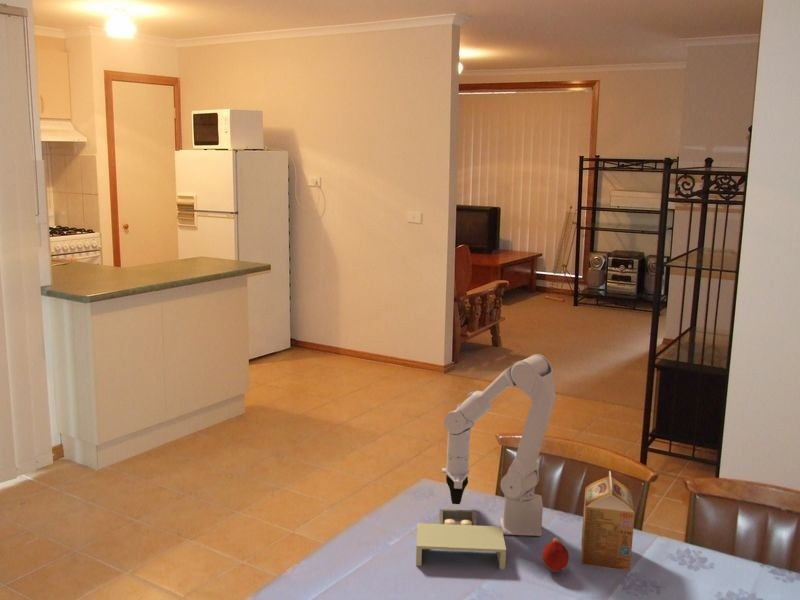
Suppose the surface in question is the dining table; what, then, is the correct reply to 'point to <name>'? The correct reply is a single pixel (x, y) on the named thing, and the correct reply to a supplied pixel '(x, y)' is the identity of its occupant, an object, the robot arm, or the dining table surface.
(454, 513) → the tray
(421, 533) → the bench
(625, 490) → the milk carton
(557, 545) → the onion
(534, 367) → the robot arm
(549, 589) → the dining table surface
